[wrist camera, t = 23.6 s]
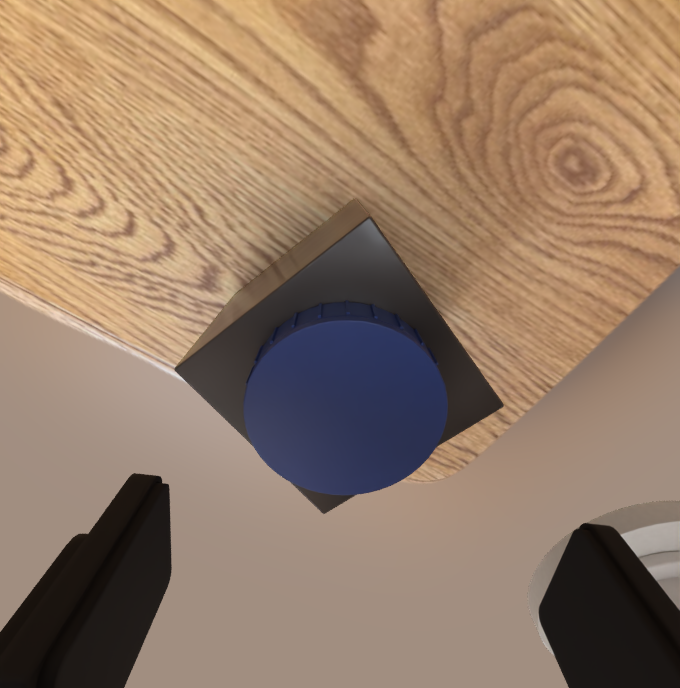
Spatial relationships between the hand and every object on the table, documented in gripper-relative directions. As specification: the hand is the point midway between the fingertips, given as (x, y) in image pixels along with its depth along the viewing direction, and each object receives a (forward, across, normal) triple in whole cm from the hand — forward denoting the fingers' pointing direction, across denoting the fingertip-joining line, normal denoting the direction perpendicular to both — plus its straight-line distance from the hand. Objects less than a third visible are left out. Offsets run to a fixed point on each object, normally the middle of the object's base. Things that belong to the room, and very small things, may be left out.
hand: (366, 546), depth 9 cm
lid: (+5, 0, 0) cm, 5 cm away
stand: (+17, +1, -1) cm, 17 cm away
